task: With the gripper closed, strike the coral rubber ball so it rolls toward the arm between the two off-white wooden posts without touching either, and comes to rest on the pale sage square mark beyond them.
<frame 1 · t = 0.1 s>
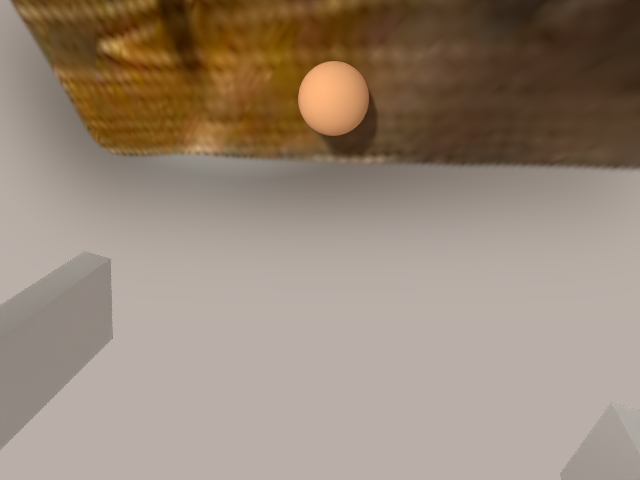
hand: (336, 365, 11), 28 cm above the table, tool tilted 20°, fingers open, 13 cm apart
ball: (333, 99, 33), on the table
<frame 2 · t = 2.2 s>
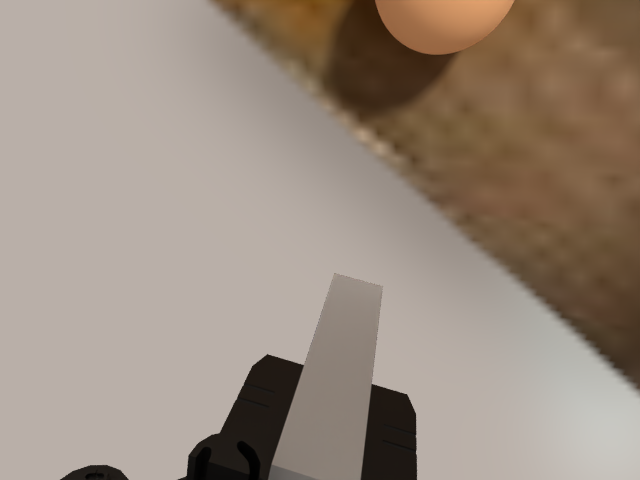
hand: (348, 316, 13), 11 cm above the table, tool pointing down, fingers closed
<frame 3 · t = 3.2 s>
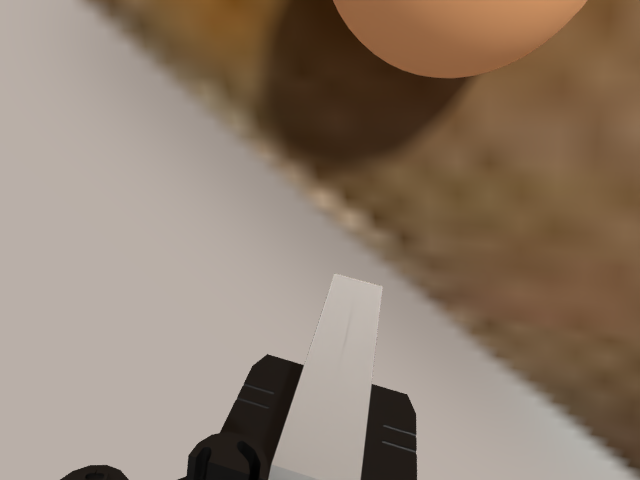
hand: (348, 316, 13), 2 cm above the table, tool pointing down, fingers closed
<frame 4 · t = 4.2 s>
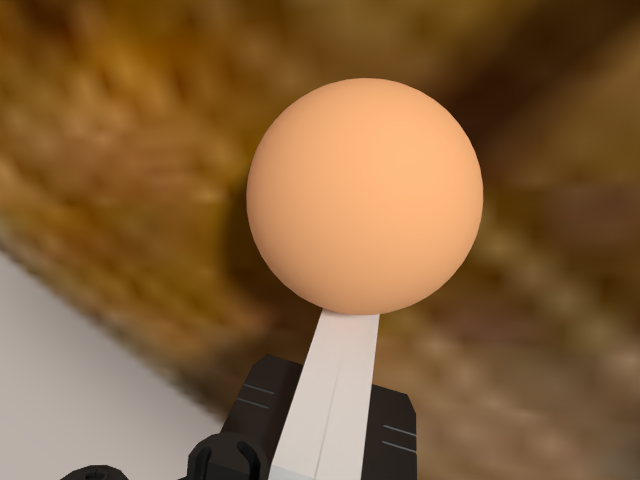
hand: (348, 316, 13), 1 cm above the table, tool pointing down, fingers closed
ball: (361, 199, 10), on the table
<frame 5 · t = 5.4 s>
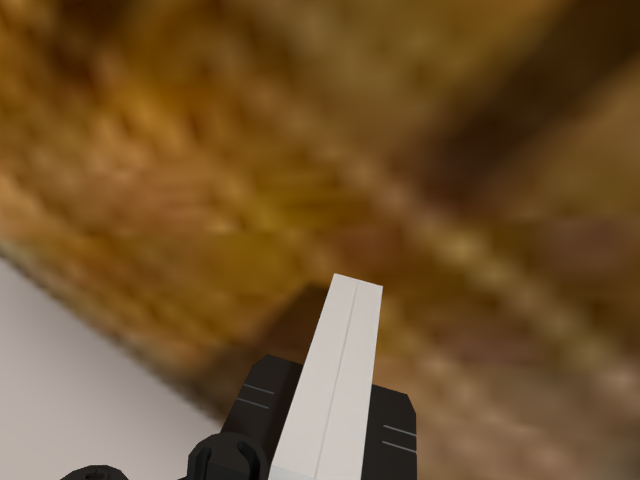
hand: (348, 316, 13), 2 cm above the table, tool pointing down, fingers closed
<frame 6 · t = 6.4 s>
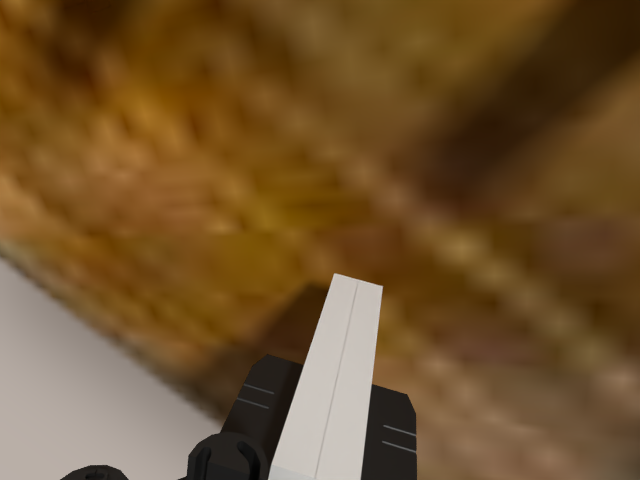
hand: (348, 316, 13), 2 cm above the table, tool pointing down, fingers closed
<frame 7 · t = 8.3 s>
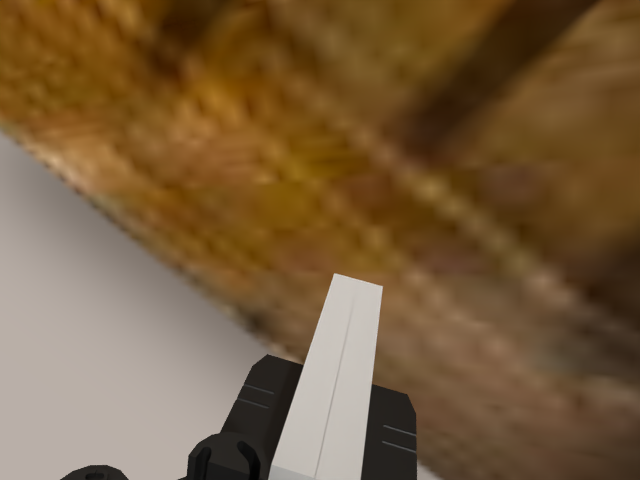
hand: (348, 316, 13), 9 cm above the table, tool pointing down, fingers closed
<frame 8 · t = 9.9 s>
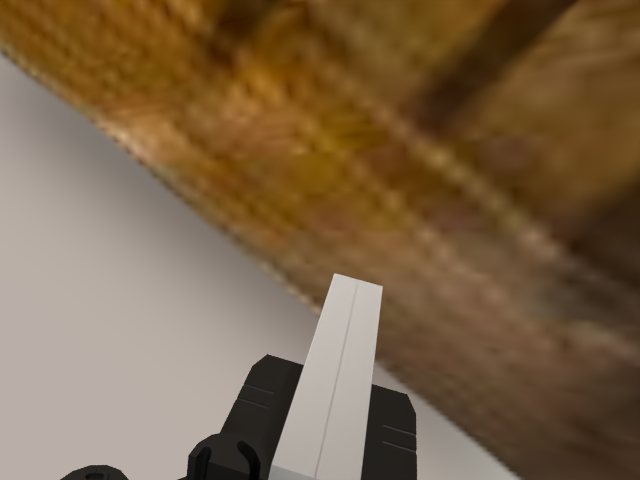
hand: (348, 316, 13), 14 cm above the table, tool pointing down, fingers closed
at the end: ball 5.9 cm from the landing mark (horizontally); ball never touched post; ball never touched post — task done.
